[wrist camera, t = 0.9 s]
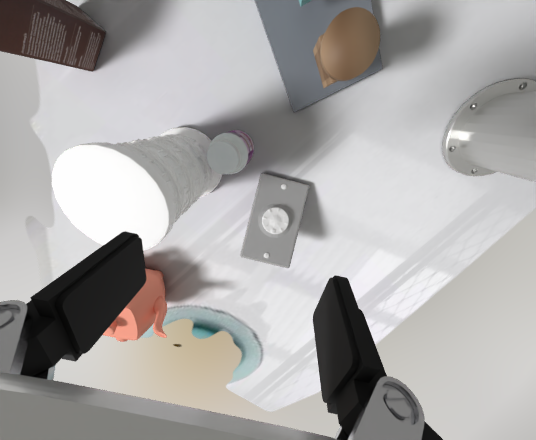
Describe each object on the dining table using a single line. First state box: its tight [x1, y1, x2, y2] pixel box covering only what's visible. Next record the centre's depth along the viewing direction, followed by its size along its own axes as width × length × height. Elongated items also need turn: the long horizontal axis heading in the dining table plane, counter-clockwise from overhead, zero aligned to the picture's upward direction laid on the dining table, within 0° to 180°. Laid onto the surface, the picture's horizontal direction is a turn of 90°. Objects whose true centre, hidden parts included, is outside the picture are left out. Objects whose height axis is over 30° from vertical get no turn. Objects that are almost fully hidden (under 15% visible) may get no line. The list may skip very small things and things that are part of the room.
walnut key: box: [313, 7, 380, 88], centre depth 21 cm, size 5×5×6 cm
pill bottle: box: [207, 130, 254, 174], centre depth 29 cm, size 5×5×10 cm
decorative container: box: [52, 127, 222, 251], centre depth 27 cm, size 12×12×18 cm
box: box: [0, 0, 106, 71], centre depth 23 cm, size 6×4×12 cm
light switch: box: [240, 173, 309, 268], centre depth 36 cm, size 8×6×14 cm
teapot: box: [103, 268, 167, 342], centre depth 43 cm, size 15×17×13 cm
